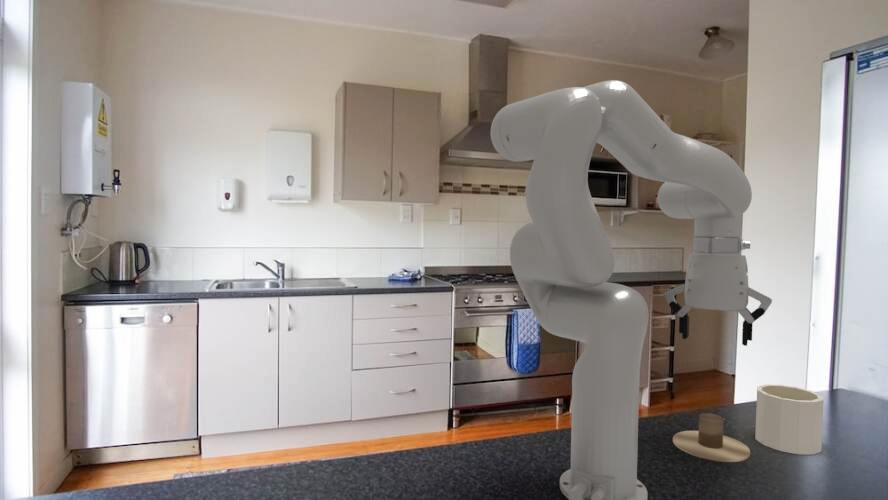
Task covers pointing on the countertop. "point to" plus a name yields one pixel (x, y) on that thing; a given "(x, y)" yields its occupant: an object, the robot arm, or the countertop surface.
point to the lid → (711, 441)
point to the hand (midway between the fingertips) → (714, 340)
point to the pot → (789, 419)
